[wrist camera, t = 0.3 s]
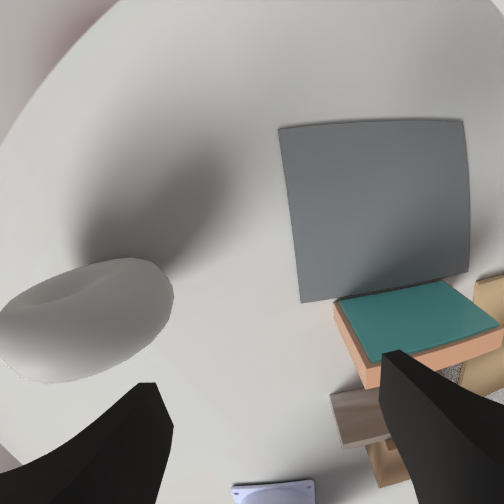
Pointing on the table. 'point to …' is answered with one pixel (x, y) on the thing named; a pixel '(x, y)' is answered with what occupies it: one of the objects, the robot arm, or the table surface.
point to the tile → (415, 328)
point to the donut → (85, 320)
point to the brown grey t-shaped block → (369, 432)
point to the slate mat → (376, 204)
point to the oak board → (494, 362)
